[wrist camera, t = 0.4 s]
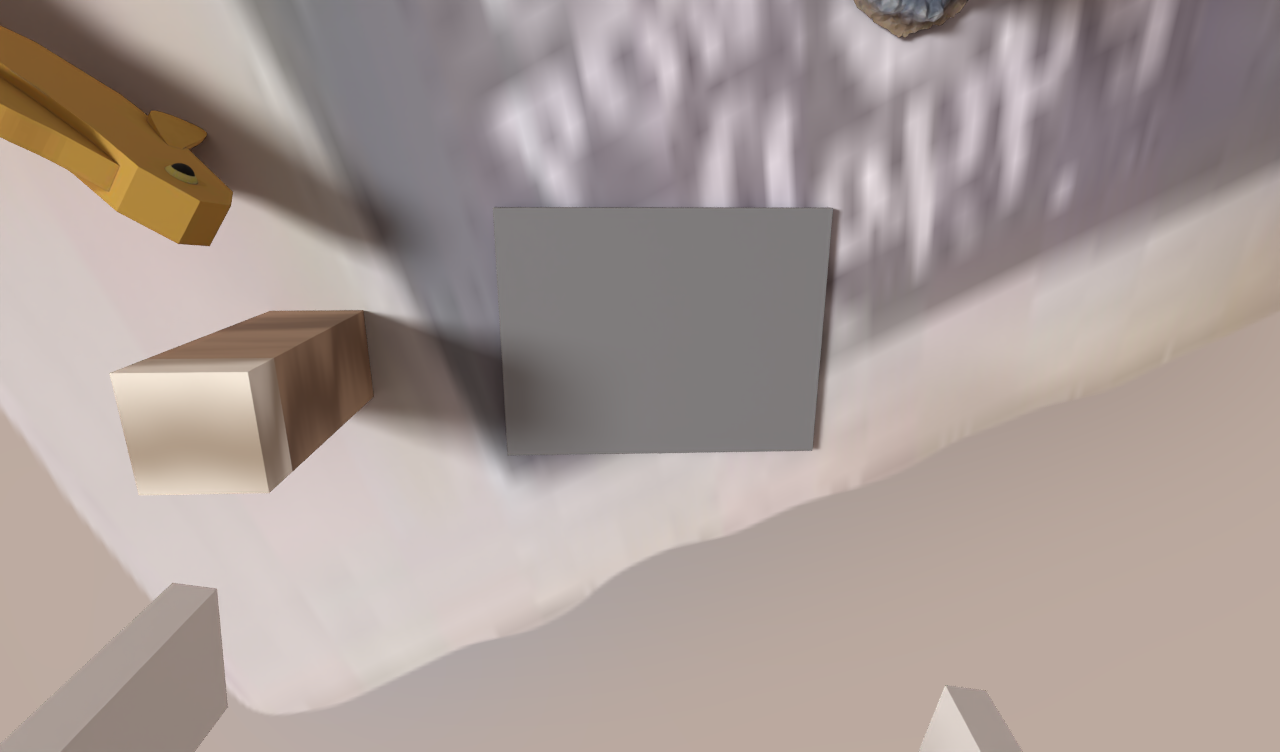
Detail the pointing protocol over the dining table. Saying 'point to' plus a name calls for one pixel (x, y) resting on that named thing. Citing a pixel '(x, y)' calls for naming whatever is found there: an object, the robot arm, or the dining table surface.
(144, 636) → the robot arm
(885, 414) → the dining table surface
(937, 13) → the antler
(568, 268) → the charcoal rubber mat
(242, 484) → the walnut block
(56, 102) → the decorative fish
